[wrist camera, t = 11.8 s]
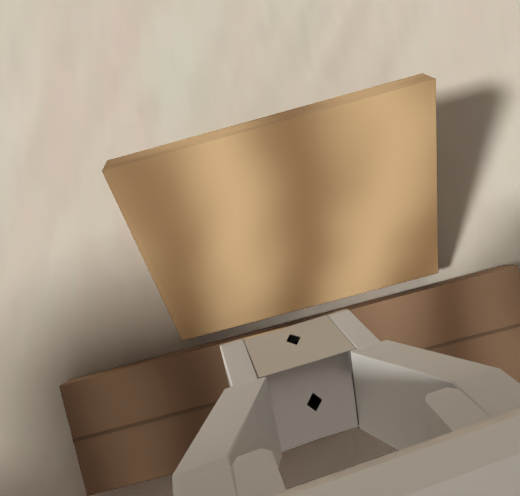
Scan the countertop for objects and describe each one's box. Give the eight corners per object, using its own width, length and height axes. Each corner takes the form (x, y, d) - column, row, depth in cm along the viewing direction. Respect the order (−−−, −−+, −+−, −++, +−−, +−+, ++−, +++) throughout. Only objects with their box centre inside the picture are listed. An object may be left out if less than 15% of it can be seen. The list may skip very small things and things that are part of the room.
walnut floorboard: (96, 484, 24) (87, 496, 23) (70, 379, 24) (59, 386, 23) (535, 371, 24) (549, 377, 22) (504, 265, 24) (517, 265, 22)
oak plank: (183, 325, 24) (182, 340, 23) (107, 160, 19) (101, 171, 18) (427, 260, 24) (438, 272, 23) (422, 73, 18) (435, 78, 17)
